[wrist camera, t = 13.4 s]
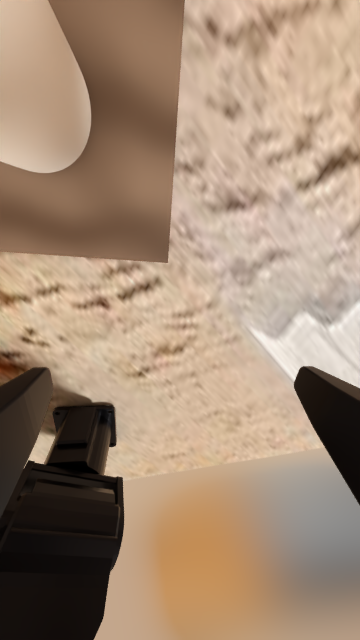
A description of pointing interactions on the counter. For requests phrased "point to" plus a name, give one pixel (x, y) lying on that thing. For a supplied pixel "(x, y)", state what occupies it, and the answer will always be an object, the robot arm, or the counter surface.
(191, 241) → the counter surface
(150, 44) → the base
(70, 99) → the can
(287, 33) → the counter surface
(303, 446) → the counter surface
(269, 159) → the counter surface
